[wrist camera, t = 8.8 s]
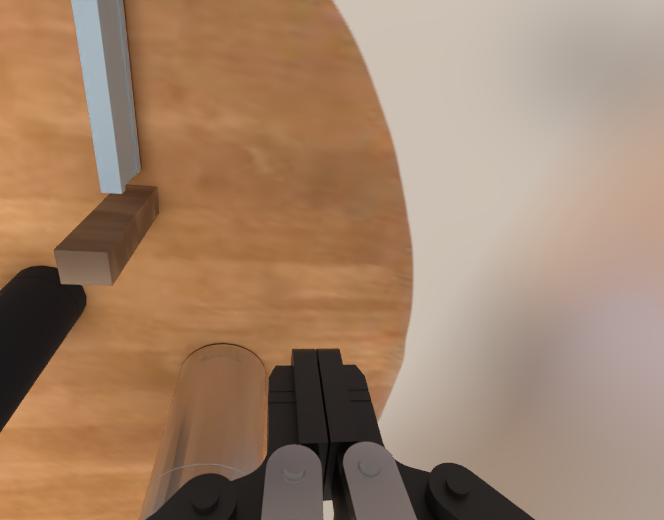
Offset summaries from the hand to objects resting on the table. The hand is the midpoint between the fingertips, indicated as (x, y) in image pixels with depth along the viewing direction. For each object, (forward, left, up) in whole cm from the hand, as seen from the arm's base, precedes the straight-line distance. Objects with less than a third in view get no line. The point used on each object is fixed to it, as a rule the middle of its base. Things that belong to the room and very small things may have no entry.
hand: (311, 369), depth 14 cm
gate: (+5, +13, -25) cm, 29 cm away
